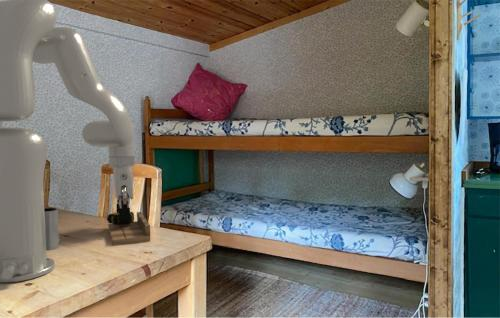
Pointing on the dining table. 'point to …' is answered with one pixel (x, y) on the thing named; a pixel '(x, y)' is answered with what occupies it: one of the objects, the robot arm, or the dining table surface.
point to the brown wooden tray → (130, 231)
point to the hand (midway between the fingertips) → (123, 217)
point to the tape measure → (115, 219)
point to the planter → (51, 228)
